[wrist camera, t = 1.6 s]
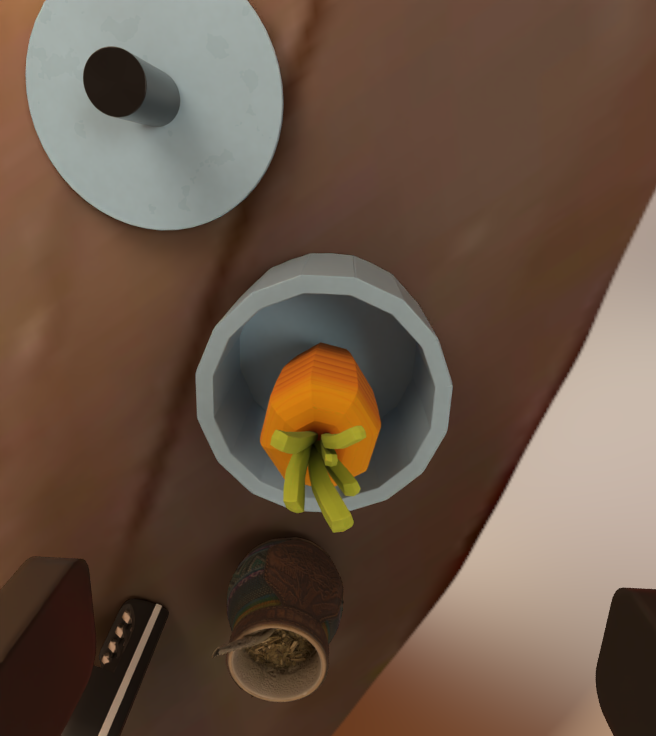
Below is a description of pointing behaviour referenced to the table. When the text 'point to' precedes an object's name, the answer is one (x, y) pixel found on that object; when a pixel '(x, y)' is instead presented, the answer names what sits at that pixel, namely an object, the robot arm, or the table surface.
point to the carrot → (321, 430)
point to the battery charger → (118, 671)
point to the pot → (338, 328)
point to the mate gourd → (282, 619)
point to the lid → (156, 104)
